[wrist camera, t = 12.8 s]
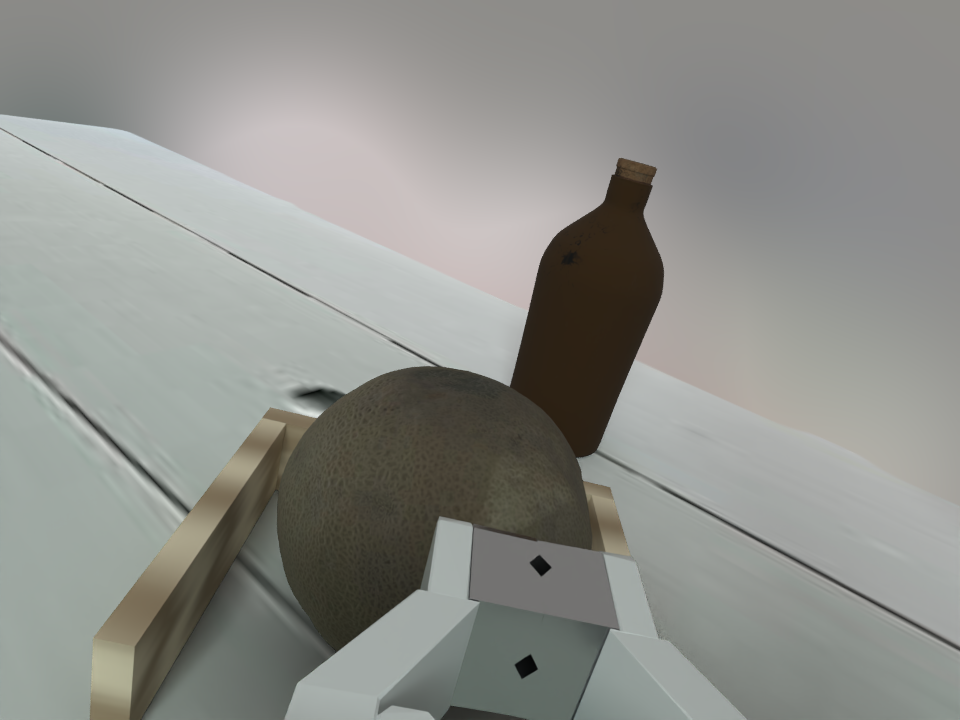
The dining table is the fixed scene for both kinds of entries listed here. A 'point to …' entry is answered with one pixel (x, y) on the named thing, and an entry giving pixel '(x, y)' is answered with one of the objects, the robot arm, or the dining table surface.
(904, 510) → the dining table surface
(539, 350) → the olive oil
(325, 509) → the cantaloupe
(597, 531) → the box
